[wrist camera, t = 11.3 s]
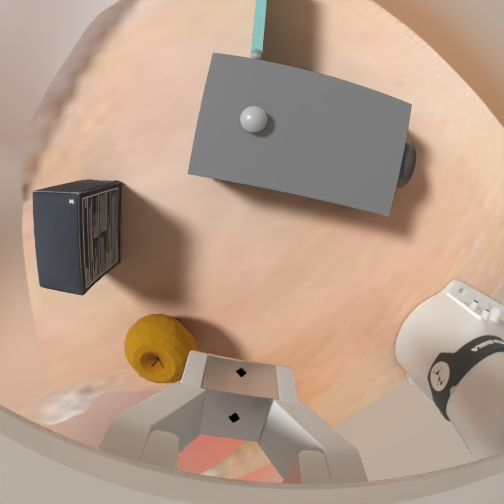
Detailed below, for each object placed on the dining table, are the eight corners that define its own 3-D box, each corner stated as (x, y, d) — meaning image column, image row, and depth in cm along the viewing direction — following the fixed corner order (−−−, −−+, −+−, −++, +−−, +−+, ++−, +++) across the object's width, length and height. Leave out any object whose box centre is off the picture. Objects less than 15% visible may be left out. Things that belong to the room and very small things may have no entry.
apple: (214, 321, 41) (207, 361, 32) (184, 366, 43) (173, 408, 34) (154, 286, 39) (131, 320, 31) (129, 335, 41) (107, 373, 33)
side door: (254, -24, 27) (255, -52, 21) (267, -23, 27) (271, -50, 21) (245, 74, 32) (244, 57, 25) (259, 75, 32) (261, 58, 25)
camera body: (402, 118, 33) (435, 112, 26) (383, 210, 37) (412, 224, 29) (219, 71, 32) (212, 50, 24) (199, 170, 35) (186, 174, 28)
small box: (78, 178, 35) (29, 188, 25) (122, 180, 35) (80, 190, 25) (79, 258, 38) (36, 288, 28) (121, 263, 38) (85, 297, 28)
